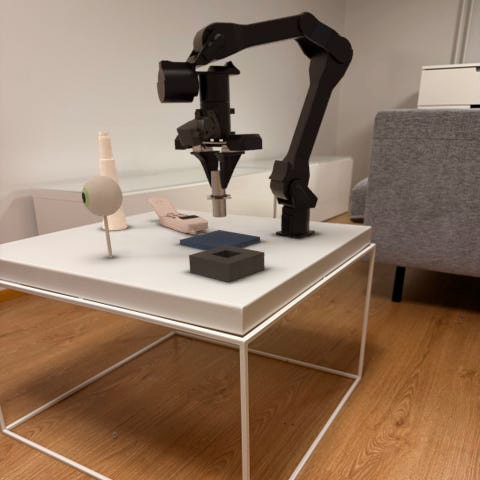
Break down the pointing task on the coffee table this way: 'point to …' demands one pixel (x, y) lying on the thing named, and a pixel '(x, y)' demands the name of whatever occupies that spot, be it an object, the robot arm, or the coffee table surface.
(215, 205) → the bolted post stand
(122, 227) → the cosmetic bottle
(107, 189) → the eyeball on stick
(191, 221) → the mobile phone
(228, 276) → the square hole block
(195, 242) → the mat
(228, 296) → the coffee table surface
